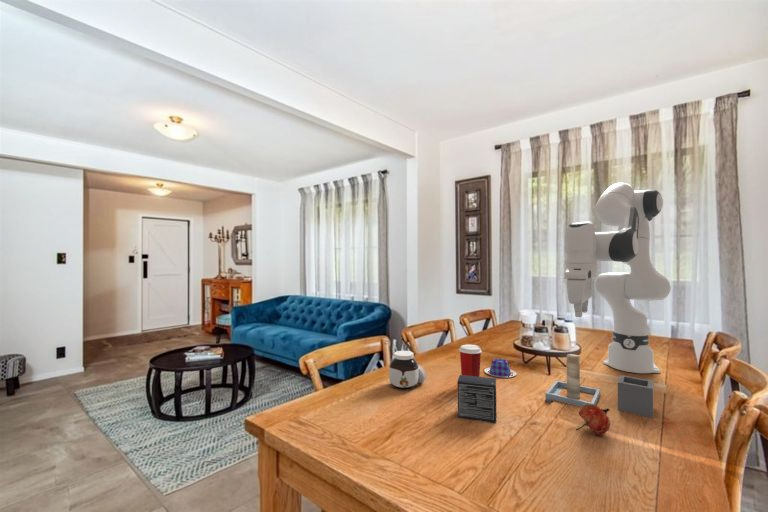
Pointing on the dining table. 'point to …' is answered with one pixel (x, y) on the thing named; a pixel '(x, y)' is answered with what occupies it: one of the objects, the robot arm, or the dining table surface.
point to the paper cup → (470, 360)
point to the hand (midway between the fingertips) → (581, 314)
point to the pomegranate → (595, 418)
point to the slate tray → (556, 389)
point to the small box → (477, 398)
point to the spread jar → (405, 371)
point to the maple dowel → (573, 376)
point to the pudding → (500, 368)
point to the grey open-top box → (635, 396)
